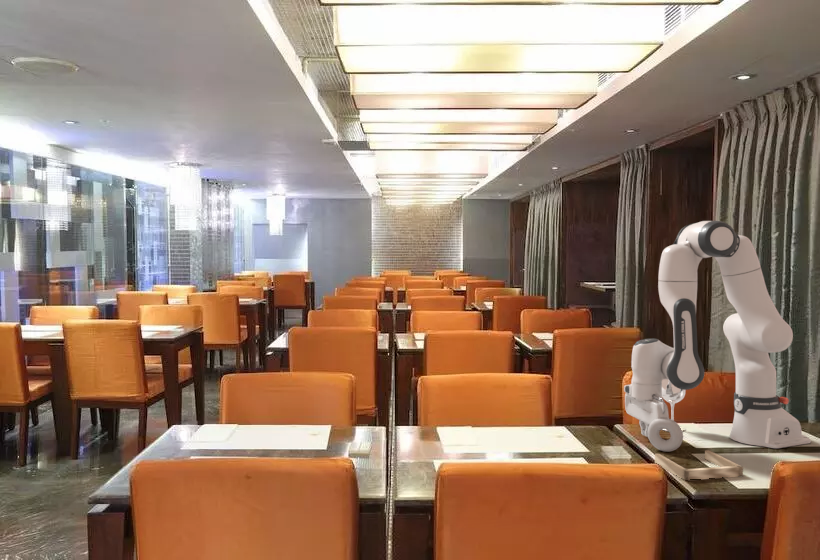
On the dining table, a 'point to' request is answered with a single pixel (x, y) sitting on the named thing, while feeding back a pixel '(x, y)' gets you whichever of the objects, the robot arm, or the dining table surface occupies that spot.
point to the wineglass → (671, 395)
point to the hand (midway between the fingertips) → (646, 435)
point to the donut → (661, 443)
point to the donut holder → (724, 470)
